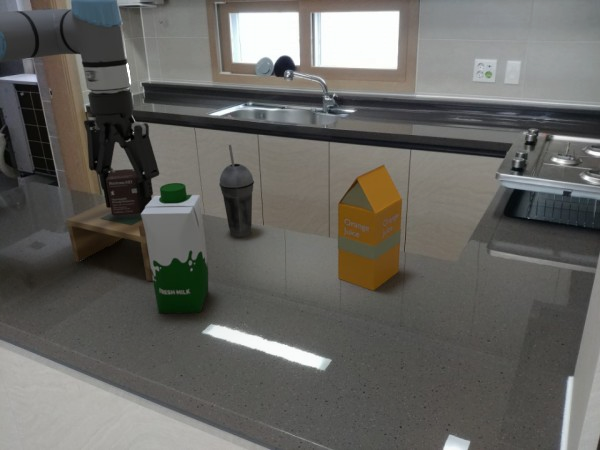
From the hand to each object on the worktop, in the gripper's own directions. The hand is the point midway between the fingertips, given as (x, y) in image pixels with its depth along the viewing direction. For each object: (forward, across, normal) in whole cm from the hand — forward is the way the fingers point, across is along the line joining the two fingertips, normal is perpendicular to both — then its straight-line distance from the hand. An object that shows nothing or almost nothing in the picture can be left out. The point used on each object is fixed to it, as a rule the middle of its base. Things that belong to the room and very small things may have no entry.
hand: (129, 208), depth 104 cm
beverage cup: (+10, +13, +18) cm, 25 cm away
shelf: (+10, 0, 0) cm, 10 cm away
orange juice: (+11, +45, +12) cm, 48 cm away
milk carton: (+10, +20, -10) cm, 25 cm away
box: (0, 0, 0) cm, 0 cm away
